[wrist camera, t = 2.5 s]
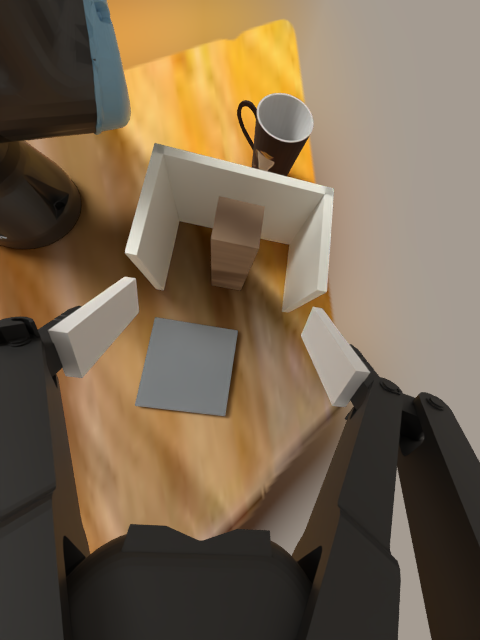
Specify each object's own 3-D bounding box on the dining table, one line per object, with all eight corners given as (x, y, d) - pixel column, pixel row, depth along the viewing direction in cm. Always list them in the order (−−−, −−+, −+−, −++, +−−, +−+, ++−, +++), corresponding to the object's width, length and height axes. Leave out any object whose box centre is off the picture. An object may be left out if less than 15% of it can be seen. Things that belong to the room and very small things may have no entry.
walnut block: (240, 290, 34) (258, 248, 21) (211, 285, 34) (210, 238, 20) (244, 263, 35) (264, 206, 22) (216, 258, 35) (218, 195, 21)
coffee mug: (296, 187, 39) (324, 132, 30) (259, 202, 38) (276, 150, 28) (266, 140, 40) (284, 71, 31) (229, 153, 39) (235, 85, 29)
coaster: (136, 404, 29) (134, 405, 29) (156, 318, 32) (155, 317, 31) (224, 414, 31) (225, 416, 30) (237, 331, 33) (237, 330, 32)
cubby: (288, 312, 35) (326, 291, 23) (156, 289, 32) (124, 252, 21) (295, 240, 37) (334, 188, 26) (174, 213, 35) (154, 142, 23)
